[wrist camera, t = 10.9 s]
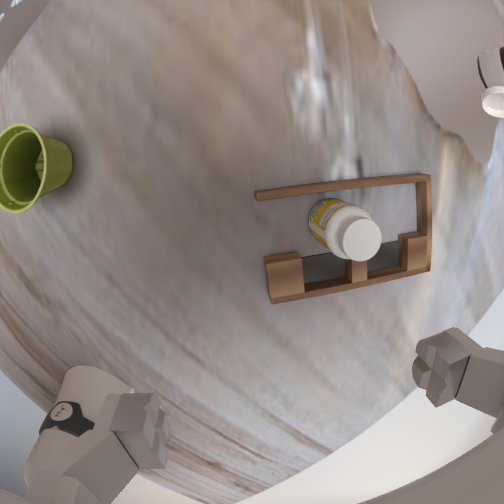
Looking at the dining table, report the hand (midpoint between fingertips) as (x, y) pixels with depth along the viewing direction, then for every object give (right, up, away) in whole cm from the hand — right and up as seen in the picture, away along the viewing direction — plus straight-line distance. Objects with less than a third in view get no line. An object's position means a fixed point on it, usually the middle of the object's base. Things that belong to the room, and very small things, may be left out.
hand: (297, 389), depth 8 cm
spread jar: (+37, +31, +22) cm, 53 cm away
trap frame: (+11, +6, +27) cm, 30 cm away
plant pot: (-26, +15, +22) cm, 37 cm away
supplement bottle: (+8, +8, +27) cm, 29 cm away
